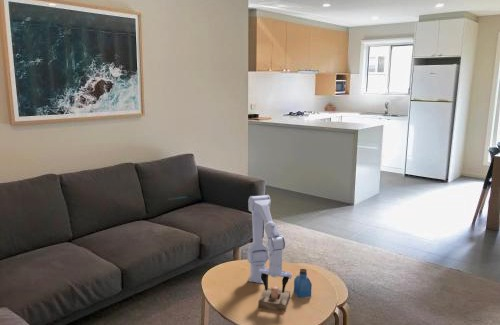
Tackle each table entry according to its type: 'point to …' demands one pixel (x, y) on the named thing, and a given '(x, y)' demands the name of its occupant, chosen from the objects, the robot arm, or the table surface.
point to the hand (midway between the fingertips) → (274, 290)
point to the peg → (274, 292)
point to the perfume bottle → (302, 284)
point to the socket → (274, 300)
